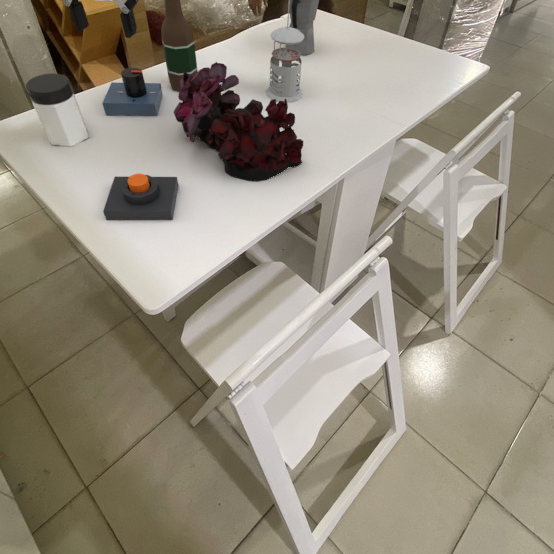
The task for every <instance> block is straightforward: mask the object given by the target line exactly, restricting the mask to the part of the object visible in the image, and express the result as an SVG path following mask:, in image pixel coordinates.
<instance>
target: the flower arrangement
mask: <svg viewBox="0 0 554 554" xmlns="http://www.w3.org/2000/svg"><path fill="white" fill-rule="evenodd" d="M197 71H198V72H197V73H196V74H195V76H194V75H190V74H188V73H186V72H185V73H183V77H182V78H181V80H180V85H181V90H180V92H179V91H178V96H177V97H178V100H179V102H178V103H177V105H176V107H175V108H174V110H173V114H174V117H175V120H176V121H177V122H178V123H181V125H182V128H183V131H184V132H185V133H186V137H187V138H189V141H191V142H192V143H195V141H196V138H198V140H199V141H200V142H202V143H203V144H206V146H207V147H208V148H209V149H211V150H215V151H216V152H218V153H217V155H218V158H219V159H220V160H222V162H223V163H222V164H223V167H224V173H225V174H227V175H228V176H230V177H231V178H235V179H238V180H243V181H247V182H261V181H262V180H263V181H268V180H270V179H272V178H274V177H276V175H277V174H279V173H280V174H282V173H283V172H285V171H286V170H288V169H289V168H288V167H292V168H295V167H294V166H298V165H299V166H300V165H302V164H303V160H302V157H303V155H302V150H303V147H304V140H302V138H298V135H297V134H296V132H295V129H292V127H294V125H295V124H296V116H295V113H293V112H288V109H289V105H288V102H287V100H286V99H284V101H276V99H274V100H272V99H270V100H269V103H268V104H267V105H266V107H265V109H264V106H263V102H261V101H260V100H256V99H254V98H253V99H251V100H250V101H249V102H248V103H247V105H246V106H245V107H243V108H242V107H238V106H239V105H240V103H241V97H240V94H238V93H236V92H235V90H233V89H232V88H234V87H236V86H238V85H239V84H240V79H239V77H238V76H237V75H236V74H231V75H229V76H227V71H228V66H227V65H225V64H224V63H221V62H218V61H215V62H214V63H212V64H211V65H210V67H209V66H207V67H206V66H205V67H202V68H201V69H199V70H197ZM222 92H223V93H222ZM263 110H264V111H265V112H266V113H267V116H264V115H263V114H262V113H263ZM281 129H282V130H281ZM301 163H302V164H301ZM299 166H298V167H299ZM287 168H288V169H287ZM284 170H285V171H284ZM281 172H282V173H281ZM280 174H279V175H280ZM273 176H274V177H273ZM277 176H278V175H277ZM271 177H272V178H271ZM269 178H270V179H269ZM267 179H268V180H267Z"/></svg>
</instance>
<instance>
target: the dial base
mask: <svg viewBox="0 0 554 554" xmlns="http://www.w3.org/2000/svg"><path fill="white" fill-rule="evenodd" d="M145 86H146V91H147V93H146V94H145V95H144V96H142V97H137V98H133V97H129V96H127V94H126V91H125V87H124V83H123V82H111V83H110V85H109V87H108V90H107V92H106V94H105V95H104V99H103V101H102V103H101V104H102V107H103V110H104V114H105V116H137V117H138V116H141V117H143V116H145V117H147V116H148V117H149V116H150V117H158V114H159V110H160V107H161V102H162V100H163V96H164V95H163V89H162V83H160V82H158V83H157V82H145Z"/></svg>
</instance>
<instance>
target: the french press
mask: <svg viewBox="0 0 554 554" xmlns="http://www.w3.org/2000/svg"><path fill="white" fill-rule="evenodd" d="M289 4H290V0H288V4H287V22H286V23H287V25H286V26H281V27H278V28H275V30H273V31H271V32H270V34H269V37H270V39H271V40H272V41H273V50H272V52H271V57H270V60H269V86H268V87H267V89H266V90H265V95H266V96H267V97H268V98H269V99H270V100H274V99H276V102H279V101H284V99H286V100H287V103H292V102H296V101H299V100H300V99H301V98H302V97H303V96H304V93H303V90H302V89H301V87H300V86H301V75H302V62H303V61H302V59H301V54H300V52H299V51H297V50H295V49H291V48H287V45H293V44H298V43H300V42H302V41H303V39H304V34H302V33H301V32H300V31H299V30H297V29H295V28H291V27H289V21H290V19H289V18H290V7H289ZM276 43H278V44H279V47H277V48H276ZM282 45H285V47H282ZM295 61H296V62H298V63H296V62H295ZM280 62H281V66H280ZM279 77H280V78H279Z"/></svg>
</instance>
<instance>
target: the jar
mask: <svg viewBox="0 0 554 554" xmlns="http://www.w3.org/2000/svg"><path fill="white" fill-rule="evenodd" d="M25 89H26V92H27V94H28V96H29V98H30V100H31V101H32V106H33V109H34V110H35V112H36V115H37V117H38V119H39V122H40V123H41V125H42V128H43V130H44V132H45V134H46V136H47V138H48V140H49V142H50V145H52V146H61V147H74V146H76V145H78V144H80V143H81V142H84V141H86V140H87V139H89V138H90V136H89V132H88V128H87V125H86V123H85V119H84V117H83V114H82V112H81V109H80V105H79V104H78V101H77V98H76V95H75V93H74V90H73V87H72V84H71V81H70V79H69V78H68V77H67V76H66V75H64V74H61V73H43V74H39V75H37V76H34V77H32V78H30V79H28V80H27V82H26V83H25Z"/></svg>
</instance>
